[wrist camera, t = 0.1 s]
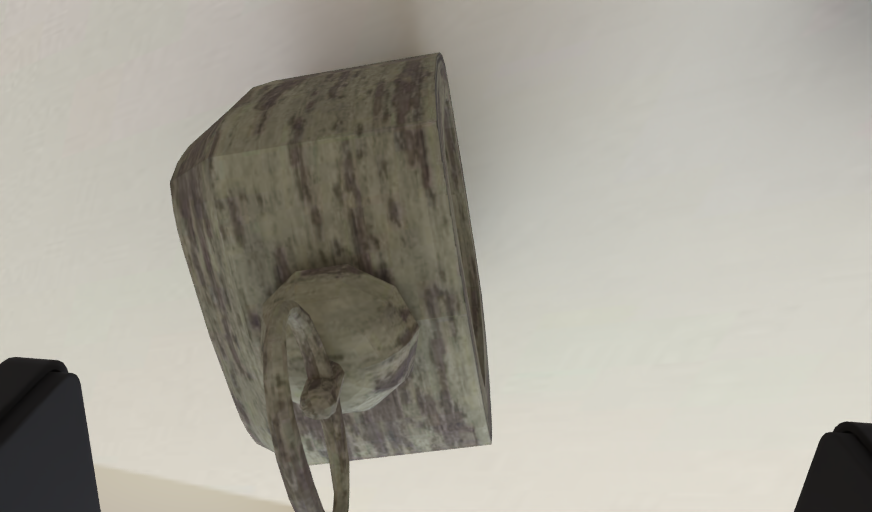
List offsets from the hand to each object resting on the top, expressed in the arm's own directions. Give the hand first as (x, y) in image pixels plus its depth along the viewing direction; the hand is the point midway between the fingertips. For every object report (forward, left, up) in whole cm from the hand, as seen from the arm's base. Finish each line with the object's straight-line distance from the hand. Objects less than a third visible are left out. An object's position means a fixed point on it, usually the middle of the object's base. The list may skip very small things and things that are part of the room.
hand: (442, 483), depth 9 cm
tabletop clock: (+5, -3, -31) cm, 31 cm away
